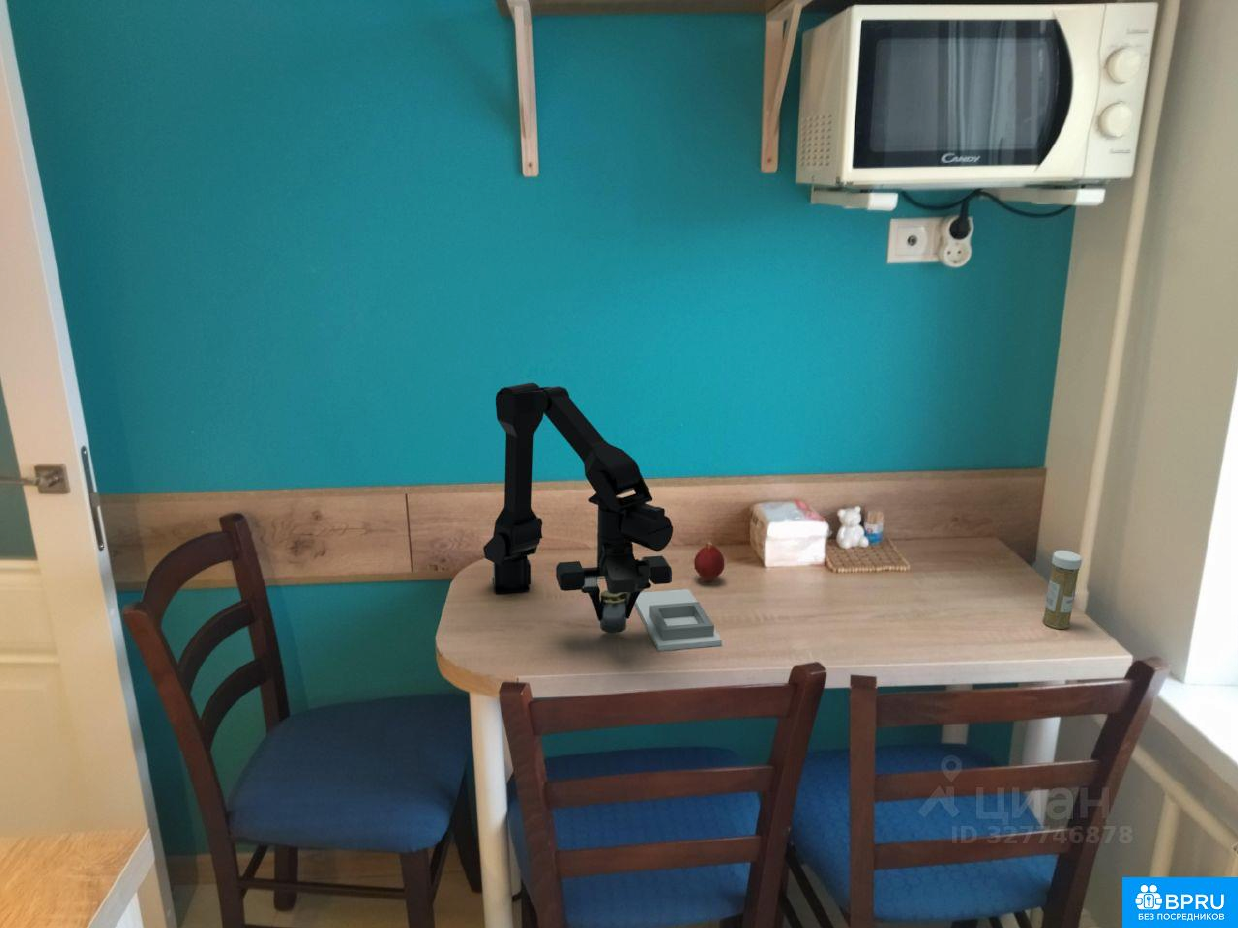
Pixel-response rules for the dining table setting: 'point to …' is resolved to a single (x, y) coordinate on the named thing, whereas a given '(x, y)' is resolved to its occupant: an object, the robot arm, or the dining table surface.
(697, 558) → the onion
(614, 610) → the lidded tin can
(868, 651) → the dining table surface
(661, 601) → the dock
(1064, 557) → the sprinkles bottle
